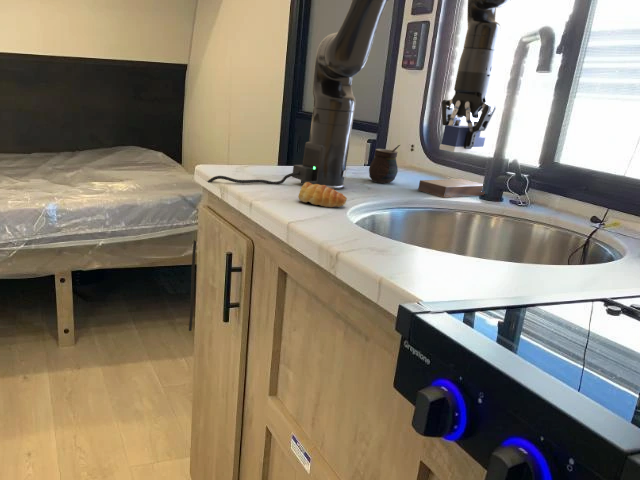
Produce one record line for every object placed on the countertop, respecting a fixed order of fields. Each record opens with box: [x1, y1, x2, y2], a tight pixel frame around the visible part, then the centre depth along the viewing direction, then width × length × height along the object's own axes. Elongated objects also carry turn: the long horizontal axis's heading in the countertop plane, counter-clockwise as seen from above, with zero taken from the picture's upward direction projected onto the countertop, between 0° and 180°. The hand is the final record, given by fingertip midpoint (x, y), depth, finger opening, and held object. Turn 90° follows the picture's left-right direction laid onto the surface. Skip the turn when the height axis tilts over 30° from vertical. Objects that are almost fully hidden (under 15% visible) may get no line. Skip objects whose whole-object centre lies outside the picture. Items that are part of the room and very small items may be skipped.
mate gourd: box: [368, 144, 401, 184], centre depth 152 cm, size 7×8×10 cm
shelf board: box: [417, 178, 485, 198], centre depth 147 cm, size 16×8×2 cm, turn 122°
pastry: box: [297, 182, 348, 208], centre depth 121 cm, size 9×7×4 cm
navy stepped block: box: [438, 125, 486, 153], centre depth 143 cm, size 11×4×6 cm, turn 122°
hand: (459, 146), depth 143 cm, fingers closed on navy stepped block, 4 cm apart
